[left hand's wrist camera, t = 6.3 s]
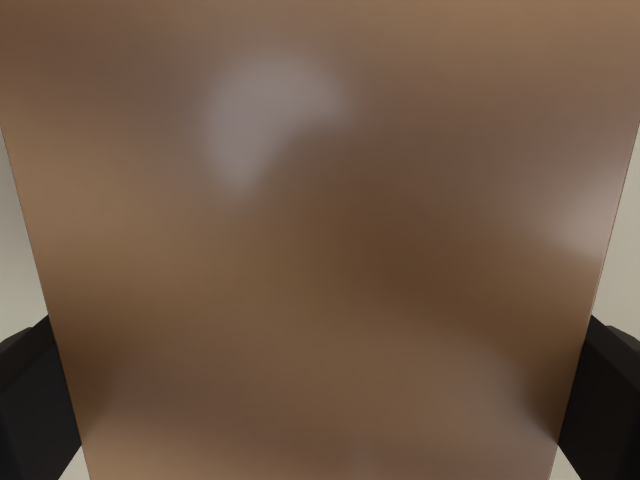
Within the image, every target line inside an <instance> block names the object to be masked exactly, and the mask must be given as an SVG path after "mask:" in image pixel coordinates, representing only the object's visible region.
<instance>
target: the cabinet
mask: <svg viewBox="0 0 640 480" xmlns="http://www.w3.org/2000/svg"><path fill="white" fill-rule="evenodd" d="M639 123H640V0H0V126H1V129H2V133H3V137H4V141H5V145H6V149H7V153H8V157H9V161H10V165H11V169H12V173H13V177H14V181H15V185H16V189H17V193H18V197H19V200H20V204H21V208H22V212H23V216H24V220H25V224H26V228H27V232H28V236H29V240H30V244H31V248H32V252H33V256H34V260H35V264H36V268H37V271H38V275H39V279H40V283H41V287H42V291H43V295H44V299H45V303H46V307H47V311H48V315H49V319H50V323H51V327H52V331H53V335H54V339H55V342H56V346H57V350H58V354H59V358H60V362H61V366H62V370H63V374H64V378H65V382H66V386H67V390H68V394H69V398H70V402H71V406H72V410H73V413H74V417H75V421H76V425H77V429H78V433H79V437H80V441H81V445H82V449H83V453H84V457H85V461H86V465H87V469H88V473H89V477H90V480H549V478H550V474H551V470H552V466H553V462H554V458H555V455H556V451H557V447H558V443H559V439H560V435H561V431H562V427H563V423H564V419H565V415H566V411H567V407H568V403H569V399H570V395H571V391H572V388H573V384H574V380H575V376H576V372H577V368H578V364H579V360H580V356H581V352H582V348H583V344H584V340H585V336H586V332H587V328H588V324H589V320H590V317H591V313H592V309H593V305H594V301H595V297H596V293H597V289H598V285H599V281H600V277H601V273H602V269H603V265H604V261H605V257H606V253H607V250H608V246H609V242H610V238H611V234H612V230H613V226H614V222H615V218H616V214H617V210H618V206H619V202H620V198H621V194H622V190H623V186H624V182H625V179H626V175H627V171H628V167H629V163H630V159H631V155H632V151H633V147H634V143H635V139H636V135H637V131H638V127H639Z"/></svg>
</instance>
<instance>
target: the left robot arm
mask: <svg viewBox="0 0 640 480" xmlns="http://www.w3.org/2000/svg"><path fill="white" fill-rule="evenodd" d="M80 446H81V441H80V437H79V433H78V429H77V425H76V421H75V417H74V413H73V410H72V406H71V402H70V398H69V394H68V390H67V386H66V382H65V378H64V374H63V370H62V366H61V362H60V358H59V354H58V350H57V346H56V342H55V339H54V335H53V331H52V327H51V323H50V319H49V315H47V316H46V317H44V318H43V319H42V320H41V321H40V322H38V323H37V324H36V325H35V326H34V327H28V328H26V329H24V330H22V331H20V332H18V333H16V334H14V335H12V336H10V337H8V338H6V339H5V340H4V341H2V342H1V343H0V480H58V479H59V478H60V476H61V475H62V473H63V472H64V470H65V469H66V467H67V466H68V464H69V463H70V461H71V460H72V458H73V457H74V455H75V454H76V452H77V451H78V449H79V448H80ZM558 446H559V447H560V449H561V450H562V452H563V453H564V455H565V456H566V458H567V459H568V461H569V462H570V464H571V465H572V467H573V468H574V470H575V471H576V473H577V474H578V476H579V477H580V479H581V480H640V341H638V340H637V339H636V338H635V337H633V336H631V335H629V334H627V333H625V332H623V331H621V330H619V329H617V328H615V327H613V326H605V325H604V324H602V323H601V322H600V321H599V320H598V319H596V318H595V317H594V316H593V315H592V314H591V317H590V320H589V324H588V328H587V332H586V336H585V340H584V344H583V348H582V352H581V356H580V360H579V364H578V368H577V372H576V376H575V380H574V384H573V388H572V391H571V395H570V399H569V403H568V407H567V411H566V415H565V419H564V423H563V427H562V431H561V435H560V439H559V443H558Z"/></svg>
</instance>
